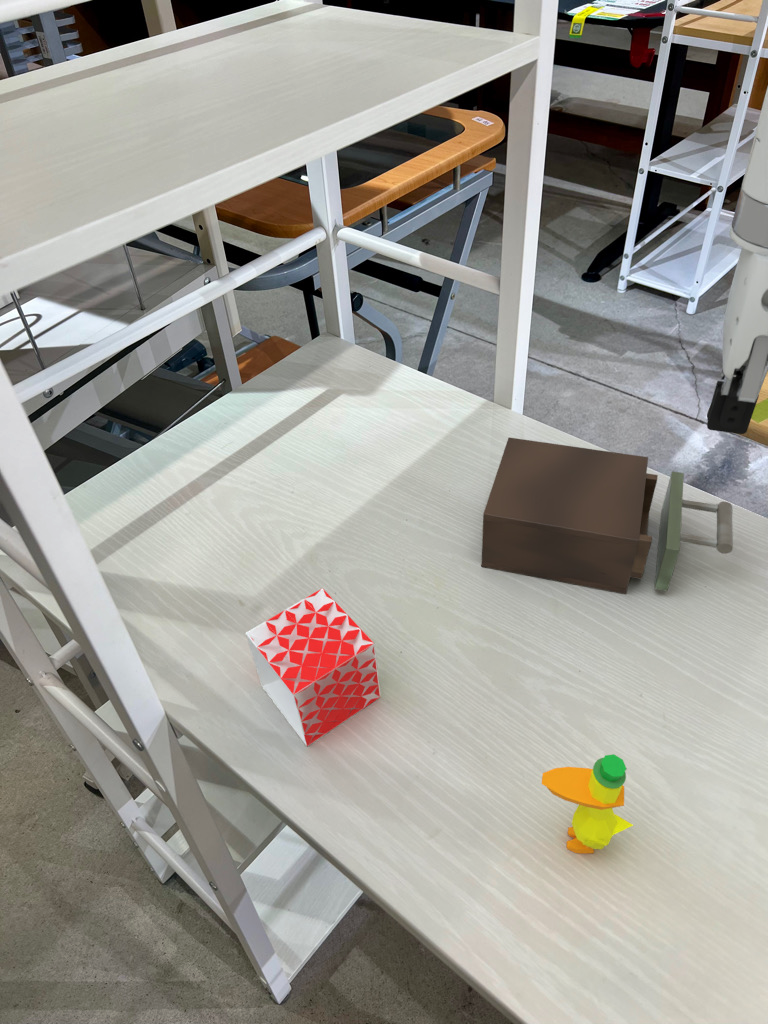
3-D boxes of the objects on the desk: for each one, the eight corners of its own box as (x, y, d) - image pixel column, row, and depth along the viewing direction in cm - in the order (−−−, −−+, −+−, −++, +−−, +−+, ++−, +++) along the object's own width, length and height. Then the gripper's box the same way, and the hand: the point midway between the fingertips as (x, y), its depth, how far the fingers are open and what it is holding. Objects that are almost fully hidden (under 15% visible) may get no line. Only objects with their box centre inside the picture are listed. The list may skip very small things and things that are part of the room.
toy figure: (531, 854, 56) (544, 776, 48) (535, 809, 59) (548, 728, 50) (624, 874, 55) (653, 797, 47) (624, 827, 57) (653, 746, 49)
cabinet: (636, 510, 82) (648, 456, 77) (625, 594, 74) (639, 540, 69) (505, 489, 86) (508, 437, 81) (481, 566, 78) (483, 513, 73)
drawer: (721, 521, 79) (735, 480, 75) (721, 601, 71) (736, 560, 67) (546, 493, 84) (551, 453, 80) (528, 565, 76) (532, 524, 72)
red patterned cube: (380, 697, 67) (374, 643, 62) (307, 747, 64) (293, 695, 58) (331, 641, 72) (321, 587, 66) (261, 685, 69) (244, 632, 63)
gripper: (864, 268, 47) (776, 488, 59) (839, 182, 57) (768, 385, 69) (735, 259, 49) (676, 473, 61) (733, 176, 59) (683, 375, 71)
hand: (725, 426), depth 65 cm, fingers closed
